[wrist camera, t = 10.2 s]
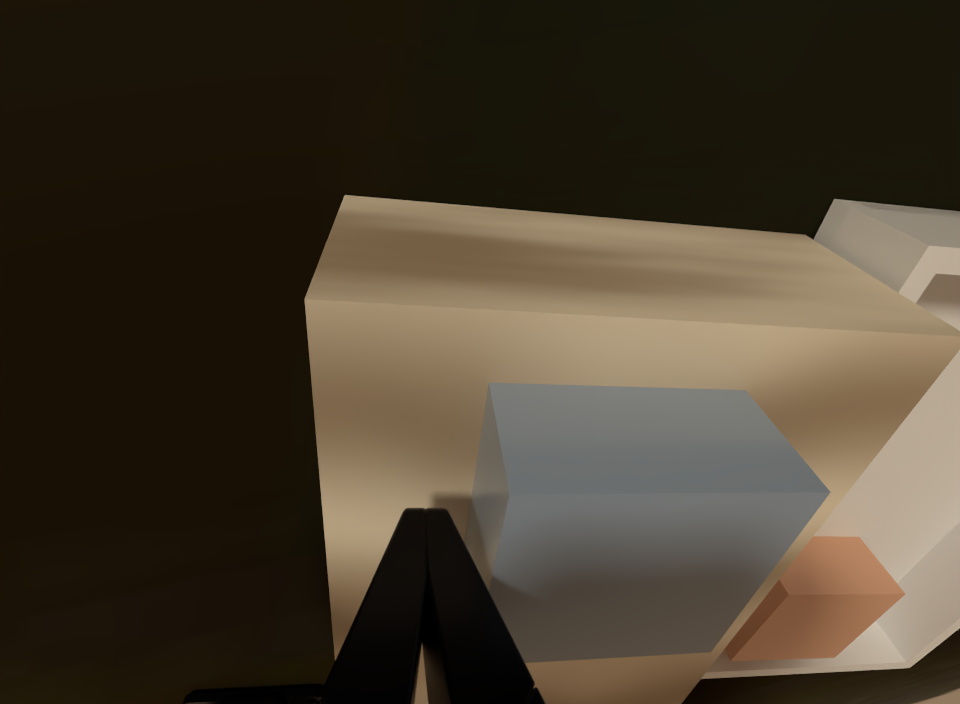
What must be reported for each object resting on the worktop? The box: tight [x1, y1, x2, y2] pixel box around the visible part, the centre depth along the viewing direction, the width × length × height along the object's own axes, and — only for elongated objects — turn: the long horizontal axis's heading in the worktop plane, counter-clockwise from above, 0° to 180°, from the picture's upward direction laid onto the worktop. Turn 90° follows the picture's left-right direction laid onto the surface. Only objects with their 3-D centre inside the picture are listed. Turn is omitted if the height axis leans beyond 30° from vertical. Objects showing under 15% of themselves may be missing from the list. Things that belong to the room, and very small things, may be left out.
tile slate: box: [464, 383, 831, 663], centre depth 10 cm, size 5×5×2 cm
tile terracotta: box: [725, 536, 905, 661], centre depth 21 cm, size 5×5×2 cm
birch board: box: [305, 195, 960, 704], centre depth 16 cm, size 18×12×5 cm, turn 173°
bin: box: [701, 199, 960, 679], centre depth 18 cm, size 20×13×3 cm, turn 173°
